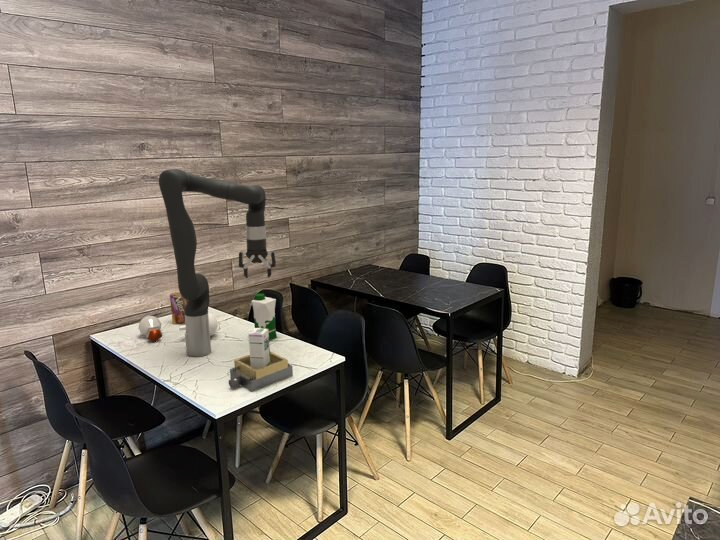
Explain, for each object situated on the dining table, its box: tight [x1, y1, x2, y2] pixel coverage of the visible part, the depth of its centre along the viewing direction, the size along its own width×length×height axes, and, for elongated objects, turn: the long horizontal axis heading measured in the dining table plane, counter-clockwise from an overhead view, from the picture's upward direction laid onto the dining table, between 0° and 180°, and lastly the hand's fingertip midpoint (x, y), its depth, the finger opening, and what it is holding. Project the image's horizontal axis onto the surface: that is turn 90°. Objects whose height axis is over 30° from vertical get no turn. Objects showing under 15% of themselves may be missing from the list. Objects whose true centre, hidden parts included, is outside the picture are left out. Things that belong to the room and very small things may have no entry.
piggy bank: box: [178, 312, 219, 337], centre depth 225 cm, size 12×12×15 cm
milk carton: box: [251, 292, 278, 341], centre depth 222 cm, size 9×9×20 cm
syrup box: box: [248, 327, 271, 370], centre depth 184 cm, size 6×6×14 cm
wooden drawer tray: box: [228, 351, 294, 392], centre depth 184 cm, size 22×14×7 cm, turn 135°
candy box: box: [169, 291, 188, 325], centre depth 242 cm, size 9×4×15 cm, turn 85°
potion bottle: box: [138, 315, 163, 343], centre depth 225 cm, size 9×10×15 cm
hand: (258, 277), depth 199 cm, fingers open, 8 cm apart
